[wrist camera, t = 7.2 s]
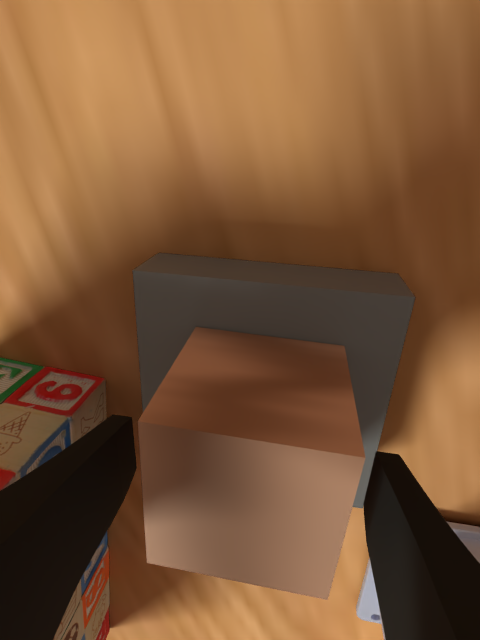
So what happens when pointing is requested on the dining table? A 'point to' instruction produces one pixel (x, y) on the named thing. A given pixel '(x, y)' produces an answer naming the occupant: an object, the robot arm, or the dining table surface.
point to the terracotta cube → (251, 461)
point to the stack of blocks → (43, 444)
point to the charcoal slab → (278, 321)
